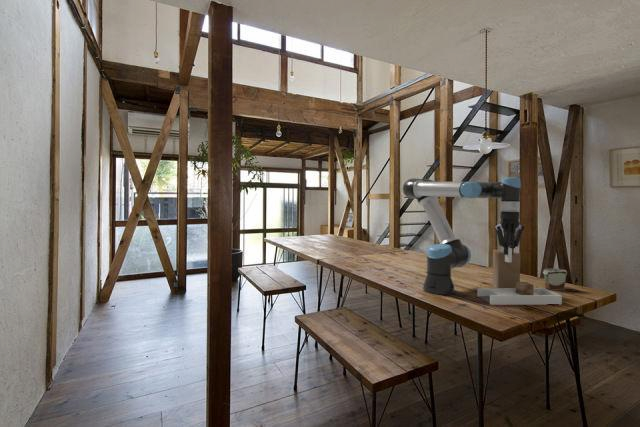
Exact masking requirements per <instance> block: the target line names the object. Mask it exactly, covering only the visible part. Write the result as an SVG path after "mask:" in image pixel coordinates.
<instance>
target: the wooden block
mask: <svg viewBox="0 0 640 427" xmlns="http://www.w3.org/2000/svg"><path fill="white" fill-rule="evenodd" d="M521 261H522V260H521V253H520V252H518V251H516V250H514V252H513V255H512V262H506V261H505V255H504V249H493V250H492V276H491V279H492V280H491V286H492V287H493V288H516V282H521Z"/></svg>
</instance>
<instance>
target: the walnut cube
mask: <svg viewBox="0 0 640 427" xmlns="http://www.w3.org/2000/svg"><path fill="white" fill-rule="evenodd" d="M534 288H535V287H534V284H532V283H530V282H527V281H520V282H516V293H518V294H520V295H533V289H534Z"/></svg>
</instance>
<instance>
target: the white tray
mask: <svg viewBox="0 0 640 427" xmlns="http://www.w3.org/2000/svg"><path fill="white" fill-rule="evenodd" d="M476 290H477V291H476V292H477V294H476V296H477V298H479V299H481V300H483V301H484V302H485V303H488V304H489V305H490V306H491V305H493V306H497V305H498V306H499V305H502V306H505V305H506V306H509V305H510V306H511V305H513V306H514V305H517V306H519V305H522V306H525V305H528V306H529V305H533V306H534V305H542V306H544V305H547V304H559V305H562V303H563V296H562V295H561V294H559V293H556V292H553V291H552V290H547V289H545V288H543V287H540V288H539V287H537V288H536V287H534V289H533V295H520V294H518V293H516V288H494V287H493V288H492V287H491V288H490V287H488V288H487V287H480V288H479V287H478V288H477V289H476Z"/></svg>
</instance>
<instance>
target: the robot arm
mask: <svg viewBox="0 0 640 427" xmlns="http://www.w3.org/2000/svg"><path fill="white" fill-rule="evenodd" d="M521 186H522V184H521V178H520V177H516V176H511V177H510V176H509V177H507V176H505V177H502V178H501V181H499V182H497V181H495V182H493V181H491V182H490V181H489V182H486V181H474V180H473V181H472V180H471V181H435V180H433V179H430V178H414V177H413V178H409V179H407V180H406V181H405V182H404V183H403V185H402V192H403V194H404V196H405V197H406V198H409V199H413V200H415V199H416V200H417V203H418V204H419V206H422V208H423V209H424V211H425V213H426V216H427V218H428V220H429V223H430V225H431V227H432V229H433V231H434V233H435V235H436V238H437V239H438V242H439V243H438V244H437V243H435V244H431V245H429V246H428V248H427V250H426V251H427V252H426V277H425V279H424V281H423V284H422V289H423V290H424V292H426V293H430V294H433V295H443V296H444V295H445V296H446V295H452V294H454V293H455V285H454V281H453V278H452V269H455V268H463V266H466V265H467V264H469V263H470V261H471V256H472V253H471V249H469V246H467V245H465V244H463V243H462V241H461V239H460V238H458V237H456V236H455V234H454V231H453V229H452V228H451V226H450V223H449V221H448V220H447V217H446V215H445V213H444V211H443V209H442V206H441V205H440V202H439V200H438V198H439V197H446V198H447V197H448V198H465V199H466V198H467V199H500V221H499V224H497V225H494V229H495V230H496V234H497V239H498V244H499V246H500V247H502V248H503V250H504V255H505V261H506V262H512V255H513V252H514V251H515V250H514V249H516V247H517V248H518V247H519V244H520V240H521V237H522V234H523V231H524V229H525V226H523V225H521V223H520V221H519V220H520V209H521V208H520V206H521V204H520V203H521V189H522V187H521Z"/></svg>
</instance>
